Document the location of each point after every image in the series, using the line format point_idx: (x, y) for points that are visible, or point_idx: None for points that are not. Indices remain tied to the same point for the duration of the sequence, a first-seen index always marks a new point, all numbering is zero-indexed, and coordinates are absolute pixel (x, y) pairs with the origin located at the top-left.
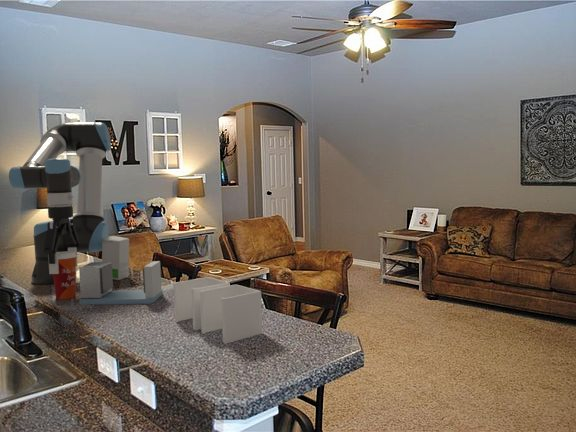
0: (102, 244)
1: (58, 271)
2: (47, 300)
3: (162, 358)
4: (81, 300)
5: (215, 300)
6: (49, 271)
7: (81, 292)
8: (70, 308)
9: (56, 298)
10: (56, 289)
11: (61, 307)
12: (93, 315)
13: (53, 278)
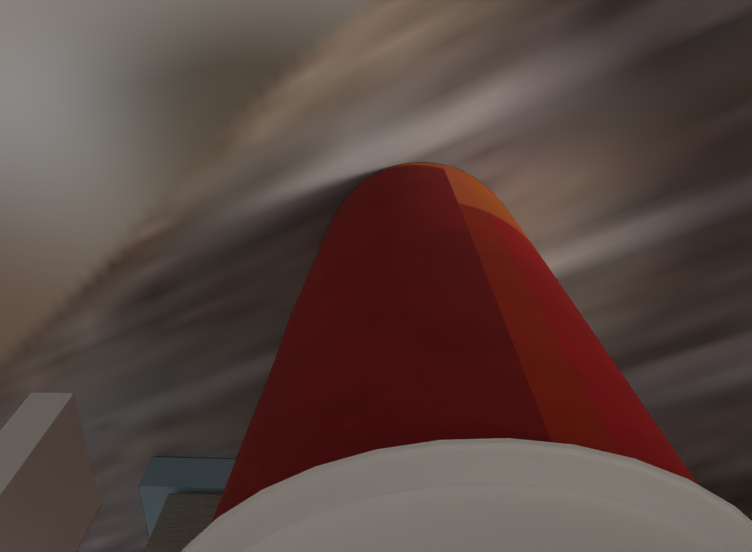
0: None
1: (74, 532)
2: (298, 110)
3: None
4: (141, 496)
5: None
6: (9, 425)
7: (151, 540)
8: None
9: (362, 182)
10: (323, 243)
11: (54, 359)
12: None
13: (349, 259)
